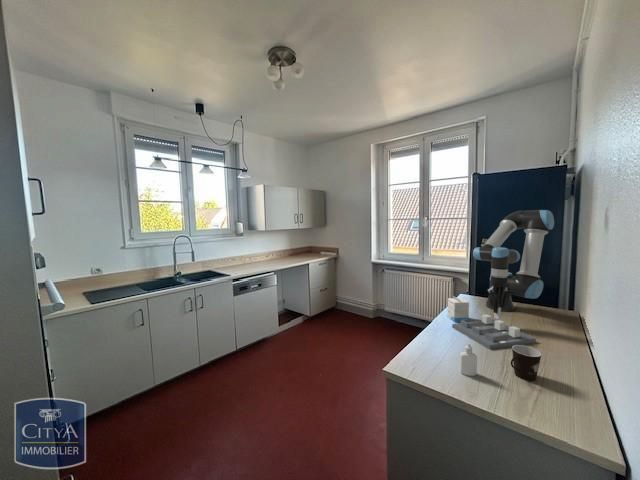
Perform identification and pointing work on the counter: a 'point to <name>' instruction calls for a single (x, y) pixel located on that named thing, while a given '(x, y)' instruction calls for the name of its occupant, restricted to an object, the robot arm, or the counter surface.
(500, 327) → the tab
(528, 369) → the coffee mug
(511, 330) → the tab
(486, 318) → the tab
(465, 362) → the eye dropper bottle
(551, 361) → the counter surface
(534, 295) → the robot arm
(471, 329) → the switch board
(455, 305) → the ink box
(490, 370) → the counter surface
